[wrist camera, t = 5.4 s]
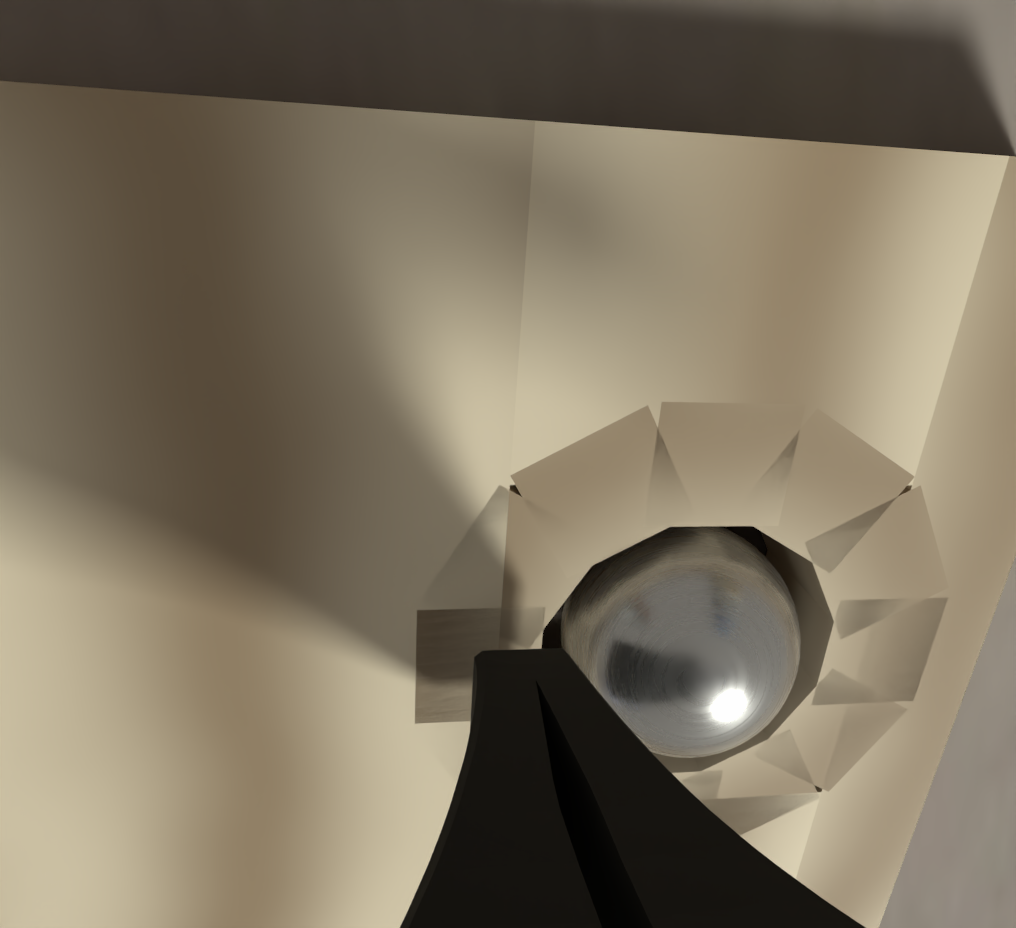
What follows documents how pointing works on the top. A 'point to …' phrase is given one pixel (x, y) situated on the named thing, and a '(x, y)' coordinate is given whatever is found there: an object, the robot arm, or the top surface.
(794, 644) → the steel ball
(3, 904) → the hole plate
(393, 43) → the top surface
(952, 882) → the top surface
